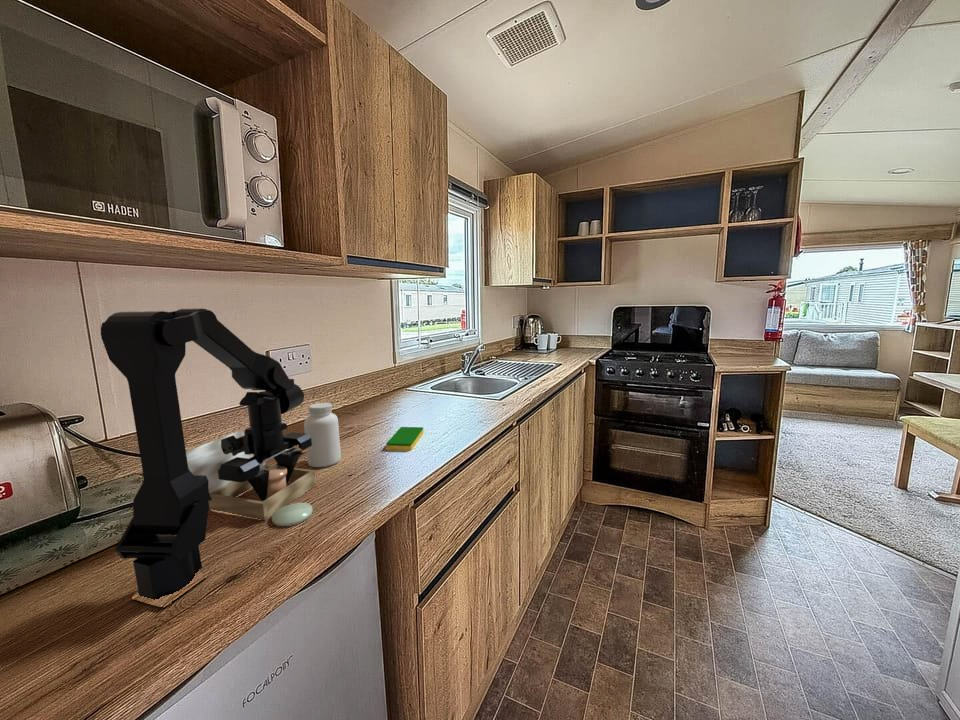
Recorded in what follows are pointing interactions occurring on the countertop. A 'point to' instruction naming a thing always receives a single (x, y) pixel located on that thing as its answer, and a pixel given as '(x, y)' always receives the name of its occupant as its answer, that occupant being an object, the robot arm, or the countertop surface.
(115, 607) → the countertop surface
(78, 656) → the countertop surface
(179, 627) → the countertop surface
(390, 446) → the dish sponge
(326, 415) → the pill bottle
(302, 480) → the cold frame
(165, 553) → the robot arm
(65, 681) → the countertop surface
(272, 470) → the tan knob
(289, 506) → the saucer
